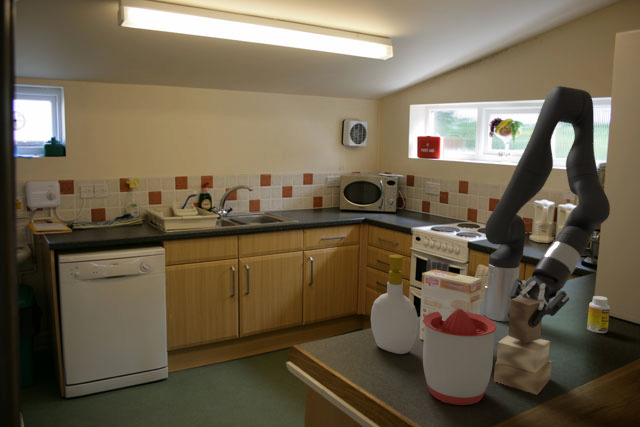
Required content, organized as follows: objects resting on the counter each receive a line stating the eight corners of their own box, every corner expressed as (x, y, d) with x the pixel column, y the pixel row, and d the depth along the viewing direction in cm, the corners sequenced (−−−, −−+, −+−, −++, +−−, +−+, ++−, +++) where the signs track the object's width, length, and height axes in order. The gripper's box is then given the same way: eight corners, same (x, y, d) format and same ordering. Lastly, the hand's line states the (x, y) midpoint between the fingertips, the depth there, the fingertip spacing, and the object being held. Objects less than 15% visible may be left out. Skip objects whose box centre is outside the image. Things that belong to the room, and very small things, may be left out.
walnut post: (508, 335, 127) (510, 299, 125) (522, 331, 129) (524, 296, 128) (526, 342, 122) (528, 305, 121) (540, 338, 125) (543, 301, 124)
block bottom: (493, 383, 127) (494, 363, 126) (508, 368, 135) (509, 350, 134) (537, 396, 121) (538, 375, 120) (550, 380, 128) (551, 361, 128)
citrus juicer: (476, 374, 130) (480, 295, 127) (502, 411, 113) (508, 321, 110) (412, 374, 130) (415, 295, 127) (429, 411, 113) (433, 321, 110)
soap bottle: (425, 351, 144) (429, 257, 140) (406, 361, 137) (410, 262, 133) (382, 337, 153) (385, 248, 149) (362, 346, 147) (365, 253, 143)
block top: (496, 362, 126) (497, 342, 126) (510, 351, 133) (512, 331, 133) (535, 373, 121) (537, 352, 120) (548, 361, 128) (549, 341, 127)
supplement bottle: (601, 335, 157) (604, 301, 156) (583, 329, 162) (586, 296, 160) (611, 331, 160) (614, 298, 159) (593, 325, 165) (596, 293, 163)
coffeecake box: (479, 346, 147) (483, 278, 144) (466, 354, 142) (470, 283, 139) (431, 332, 158) (434, 268, 155) (418, 339, 152) (421, 272, 149)
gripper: (525, 249, 133) (488, 304, 129) (578, 262, 121) (540, 322, 116) (537, 268, 136) (502, 321, 132) (590, 281, 124) (553, 340, 120)
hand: (520, 321), depth 124 cm, fingers closed on walnut post, 5 cm apart
